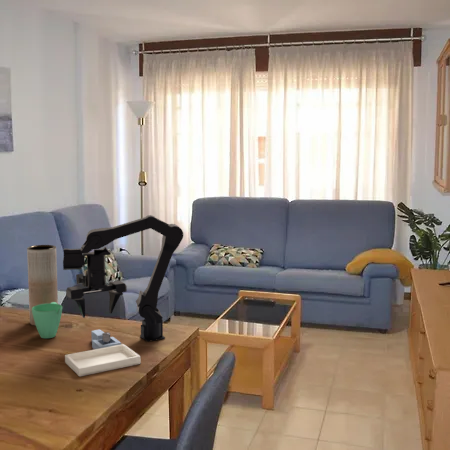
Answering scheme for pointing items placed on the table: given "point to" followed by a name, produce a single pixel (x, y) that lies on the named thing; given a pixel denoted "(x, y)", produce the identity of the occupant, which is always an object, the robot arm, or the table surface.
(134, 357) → the tray
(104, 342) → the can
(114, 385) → the table surface
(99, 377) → the table surface
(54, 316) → the mug
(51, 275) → the vase
